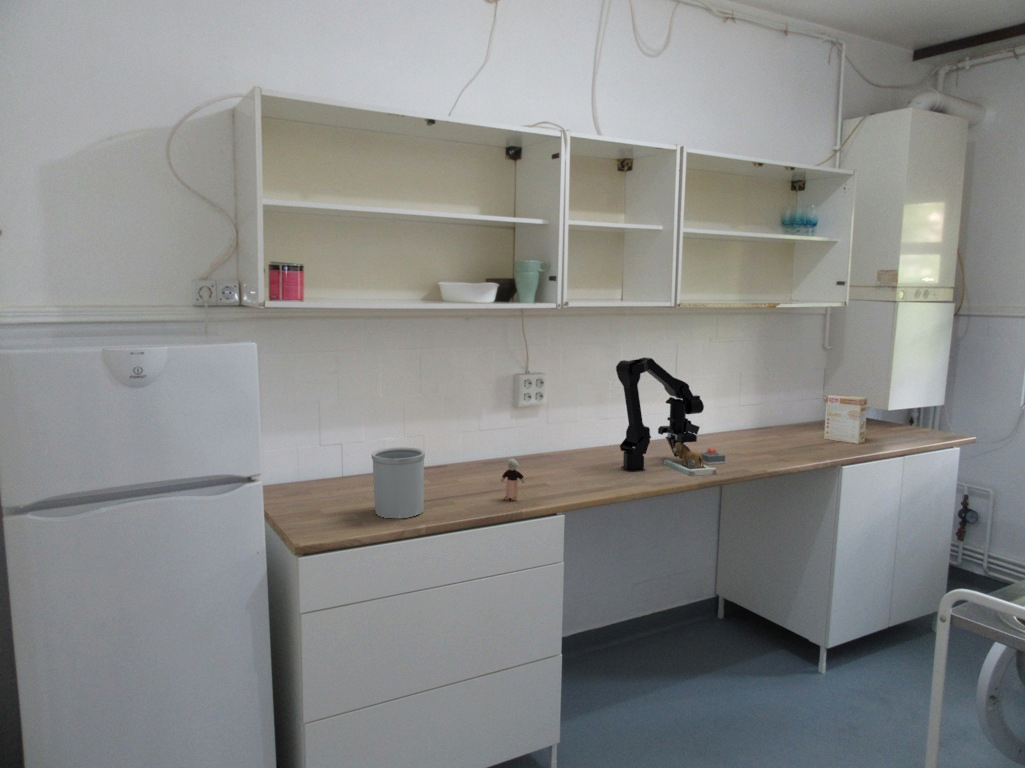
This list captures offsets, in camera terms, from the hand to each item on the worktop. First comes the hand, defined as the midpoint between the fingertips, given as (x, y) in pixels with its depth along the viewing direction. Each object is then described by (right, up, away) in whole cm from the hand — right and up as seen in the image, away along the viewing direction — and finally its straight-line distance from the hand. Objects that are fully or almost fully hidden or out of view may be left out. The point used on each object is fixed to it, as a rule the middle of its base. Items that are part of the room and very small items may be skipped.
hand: (676, 456), depth 270 cm
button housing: (+14, -2, +3) cm, 14 cm away
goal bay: (+3, -4, -9) cm, 10 cm away
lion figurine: (+3, -4, -9) cm, 10 cm away
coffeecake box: (+84, +2, +45) cm, 95 cm away
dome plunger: (+14, -1, +3) cm, 14 cm away
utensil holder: (-93, -10, -63) cm, 113 cm away
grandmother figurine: (-61, -8, -50) cm, 79 cm away
